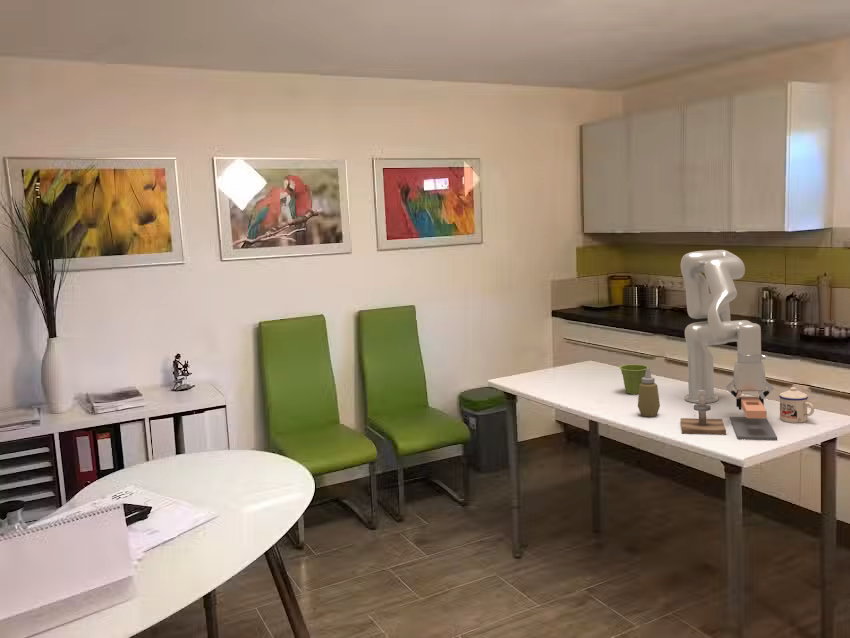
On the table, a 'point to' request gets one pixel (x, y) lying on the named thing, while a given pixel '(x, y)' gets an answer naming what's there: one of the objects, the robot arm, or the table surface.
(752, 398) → the link
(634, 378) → the plant pot
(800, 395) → the teacup with lid
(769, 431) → the mat
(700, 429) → the stand
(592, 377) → the table surface
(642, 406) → the squeeze bottle
